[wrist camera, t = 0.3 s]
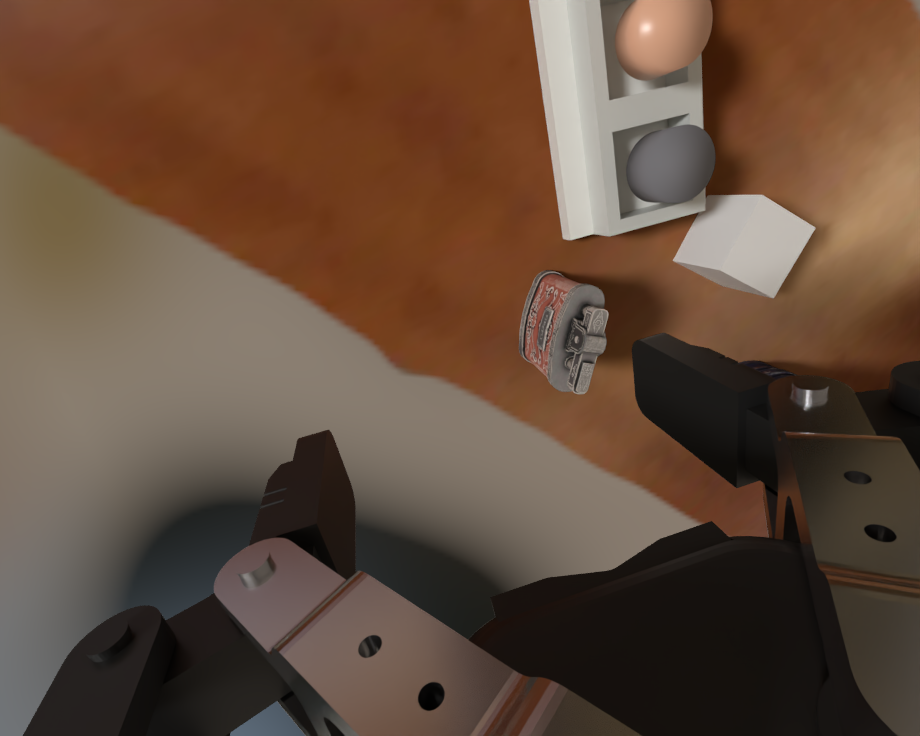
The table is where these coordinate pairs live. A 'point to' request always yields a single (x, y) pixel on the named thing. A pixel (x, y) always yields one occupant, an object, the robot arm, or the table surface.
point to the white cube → (744, 243)
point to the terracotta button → (661, 36)
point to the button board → (604, 116)
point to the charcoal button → (671, 164)
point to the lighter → (563, 330)
